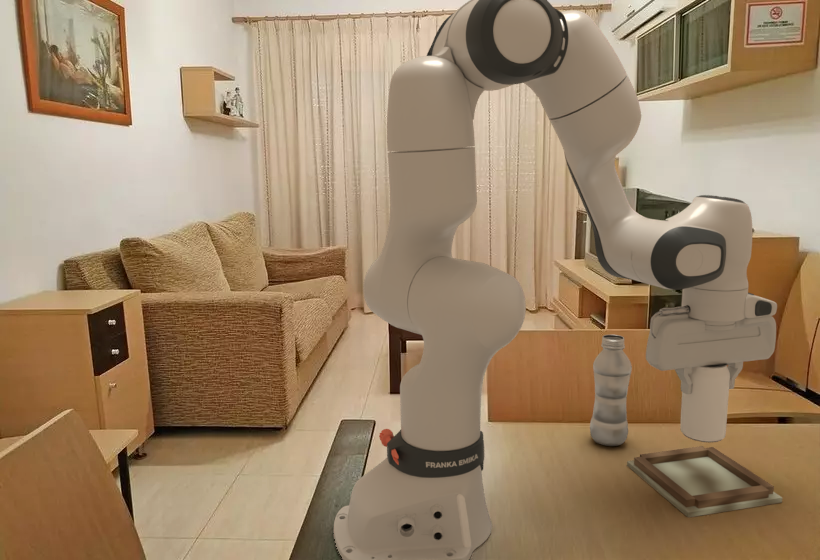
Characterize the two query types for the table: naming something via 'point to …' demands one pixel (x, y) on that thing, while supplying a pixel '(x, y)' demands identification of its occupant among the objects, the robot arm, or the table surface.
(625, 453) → the table surface
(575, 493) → the table surface
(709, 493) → the wooden picture frame
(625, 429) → the plastic bottle
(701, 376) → the can
